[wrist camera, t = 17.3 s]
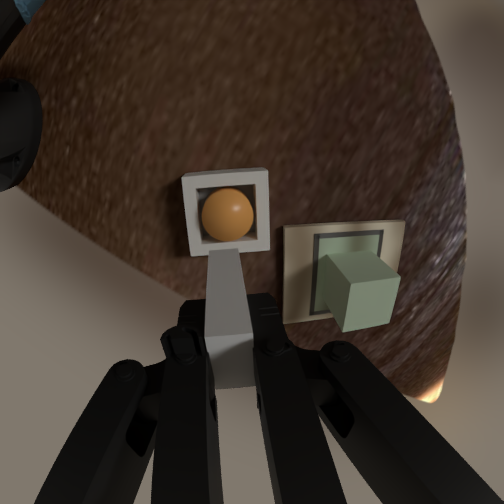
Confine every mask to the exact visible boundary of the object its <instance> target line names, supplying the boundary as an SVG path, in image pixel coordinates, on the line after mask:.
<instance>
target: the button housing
mask: <svg viewBox="0 0 504 504" xmlns="http://www.w3.org/2000/svg"><path fill="white" fill-rule="evenodd" d="M223 186H232V187H235V188H238V189H240V190H241V191H242V192H243V193H244V194H245V195H246V196H247V198H248V200H249V202H250V205H251V207H252V210H253V222H252V225H251V228H250V229H249V231H248V232H247V233H246V234H245V235H244V236H242V237H241V238H239V239H237V240H233V241H221V240H218V239H216V238H214V237H212V236H211V235H210V234H209V233H208V232H207V231H206V230H205V228H204V226H203V223H202V211H203V207H204V203H205V200H206V198H207V197H208V195H209V194H210V193H211V192H212V191H213V190H215V189H217V188H219V187H223ZM182 187H183V197H184V206H185V215H186V223H187V231H188V239H189V246H190V253H191V256H203V255H209V251H210V250H222V249H234V248H238V250H239V253H240V252H253V251H266V250H270V229H269V190H268V170H266V169H265V168H244V169H229V170H216V171H204V172H194V173H186V174H184V175H183V176H182Z"/></svg>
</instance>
